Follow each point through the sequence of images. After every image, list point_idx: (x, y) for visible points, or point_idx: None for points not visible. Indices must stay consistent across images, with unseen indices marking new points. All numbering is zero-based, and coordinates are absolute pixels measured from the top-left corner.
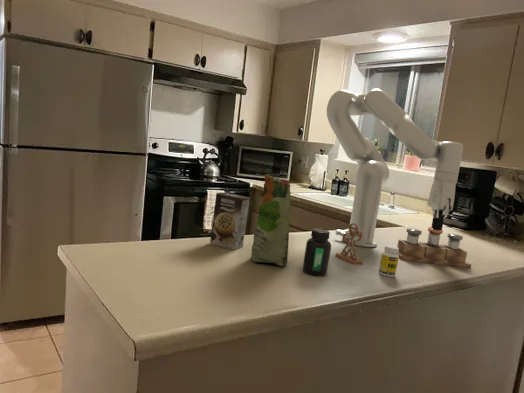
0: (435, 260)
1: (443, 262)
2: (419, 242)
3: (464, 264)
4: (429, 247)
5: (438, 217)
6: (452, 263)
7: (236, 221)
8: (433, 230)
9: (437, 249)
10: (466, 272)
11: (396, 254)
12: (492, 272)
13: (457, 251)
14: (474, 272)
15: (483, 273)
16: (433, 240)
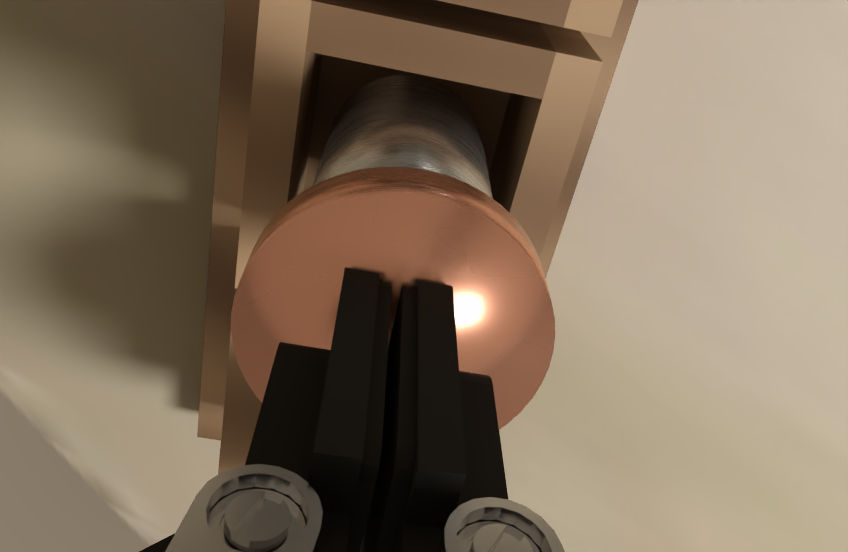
0: (221, 74)
1: (216, 170)
2: (575, 56)
3: (203, 379)
4: (257, 36)
5: (198, 525)
6: (210, 267)
7: None
8: (280, 222)
9: (247, 161)
10: (9, 265)
11: None
12: (140, 527)
13: (227, 406)
14: (55, 357)
15: (62, 427)
16: (321, 178)
